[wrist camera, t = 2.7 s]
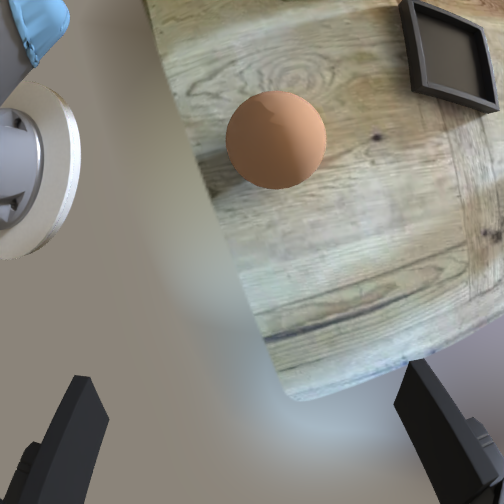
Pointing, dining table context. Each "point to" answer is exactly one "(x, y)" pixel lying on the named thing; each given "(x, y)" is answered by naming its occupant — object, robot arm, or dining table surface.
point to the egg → (276, 140)
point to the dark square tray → (448, 56)
